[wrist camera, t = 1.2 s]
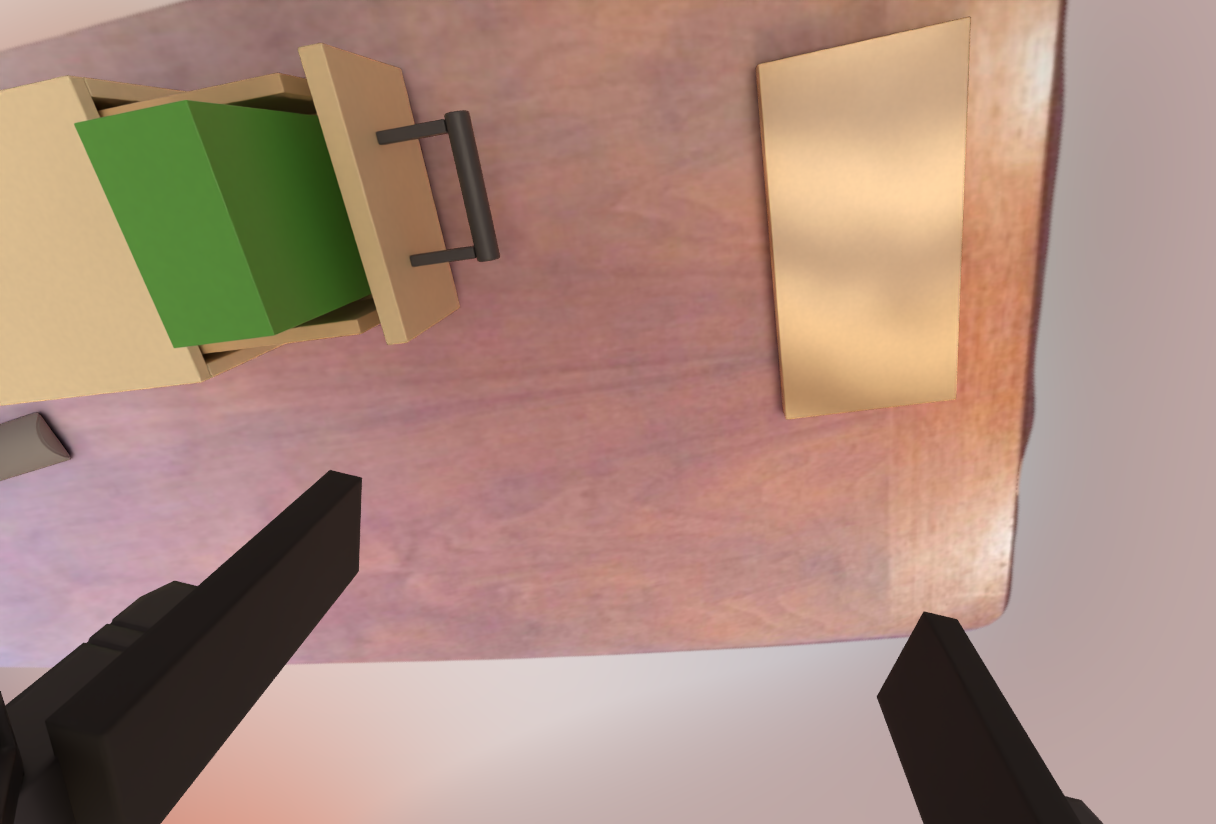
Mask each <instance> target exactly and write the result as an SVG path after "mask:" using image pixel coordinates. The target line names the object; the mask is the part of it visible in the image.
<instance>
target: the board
mask: <svg viewBox="0 0 1216 824" xmlns="http://www.w3.org/2000/svg"><path fill="white" fill-rule="evenodd" d="M970 24H971V17H966V18H961V19H957V20H952V21H948V22H943V23H939V24H935V25H930V26H926V27H921V28H917V29H912V30H908V31H903V32H899V33H895V34H890V35H886V36H881V37H877V38H872V39H868V40H864V41H859V42H855V43H850V44H846V45H841V46H837V47H832V48H828V49H824V50H819V51H815V52H810V53H806V54H801V55H797V56H792V57H788V58H784V59H779V60H775V61H770V62H766V63H761V64H758V66H757V67H756V80H757V93H758V105H759V118H760V130H761V142H762V155H763V167H764V180H765V192H766V205H767V217H768V230H769V242H770V255H771V267H772V279H773V292H774V304H775V317H776V329H777V342H778V354H779V367H780V379H781V392H782V404H783V413H784V415H785V418H786V419H795V418H804V417H812V416H821V415H829V414H838V413H846V412H855V411H863V410H872V409H880V408H889V407H897V406H905V405H914V404H922V403H931V402H939V401H948V400H956V386H957V360H958V334H959V309H960V283H961V257H962V231H963V205H964V179H965V153H966V128H967V102H968V76H969V50H970Z"/></svg>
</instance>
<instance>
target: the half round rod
mask: <svg viewBox="0 0 1216 824" xmlns="http://www.w3.org/2000/svg"><path fill="white" fill-rule="evenodd" d="M70 459H71V458H70V455H69V454H68V453H67V451H66V450H65V448H64V447H63V446H62V444H61V443H60V441H59V440H58V439H57V437H56V436H55V435H54V433H53V432H52V430H51V429H50V428H49V426H48V425H47V424H46V422H45V421H44V419H43V418H42V417H41V415H40V414H38V413H32V414H29V415H26V416H23V417H20V418H17V419H14V420H11V421H8V422H6V423H3V424H0V481H2V480H5V479H8V478H11V477H15V476H18V475H21V474H24V473H28V472H31V471H34V470H38V469H41V468H44V467H47V466H51V465H54V464H57V463H60V462H64V461H67V460H70Z"/></svg>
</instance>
